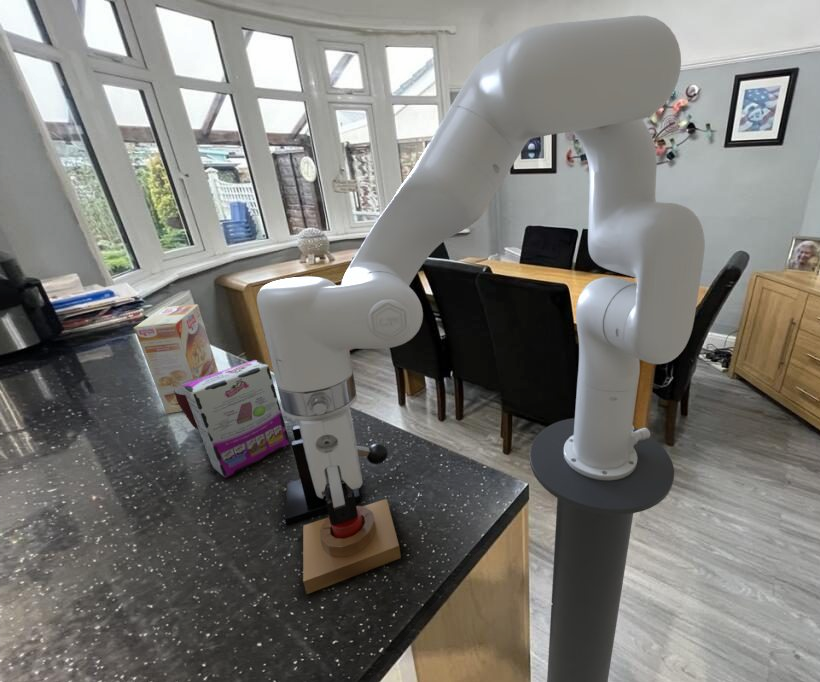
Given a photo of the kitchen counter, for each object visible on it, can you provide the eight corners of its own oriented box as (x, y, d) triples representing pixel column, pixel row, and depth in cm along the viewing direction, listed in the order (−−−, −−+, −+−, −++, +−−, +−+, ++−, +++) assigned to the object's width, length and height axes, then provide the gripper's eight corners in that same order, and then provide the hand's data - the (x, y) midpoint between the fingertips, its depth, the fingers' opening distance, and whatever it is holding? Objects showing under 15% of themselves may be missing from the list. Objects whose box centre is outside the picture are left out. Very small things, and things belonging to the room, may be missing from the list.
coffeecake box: (205, 408, 85) (176, 323, 77) (164, 415, 82) (130, 327, 75) (222, 378, 98) (199, 303, 90) (187, 383, 95) (160, 306, 88)
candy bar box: (276, 435, 75) (255, 358, 69) (291, 444, 73) (270, 364, 67) (210, 468, 67) (179, 383, 61) (224, 479, 64) (193, 391, 58)
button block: (388, 510, 58) (385, 488, 57) (400, 558, 51) (397, 535, 49) (306, 537, 54) (300, 515, 52) (306, 594, 46) (299, 570, 45)
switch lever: (380, 458, 65) (388, 441, 65) (384, 469, 62) (392, 452, 62) (297, 443, 58) (305, 425, 58) (296, 456, 55) (305, 436, 55)
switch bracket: (355, 470, 66) (343, 410, 62) (360, 502, 60) (348, 437, 55) (288, 488, 62) (271, 426, 58) (286, 525, 56) (267, 457, 51)
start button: (360, 512, 53) (359, 502, 53) (364, 532, 50) (362, 522, 50) (332, 522, 52) (329, 512, 51) (334, 543, 49) (331, 532, 48)
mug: (211, 413, 83) (197, 370, 79) (252, 409, 84) (240, 367, 80) (181, 443, 73) (163, 396, 69) (228, 439, 74) (213, 393, 71)
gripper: (363, 416, 39) (384, 551, 46) (348, 359, 51) (367, 472, 58) (276, 435, 36) (313, 577, 42) (283, 370, 48) (310, 488, 55)
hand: (344, 516), depth 50 cm, fingers closed
